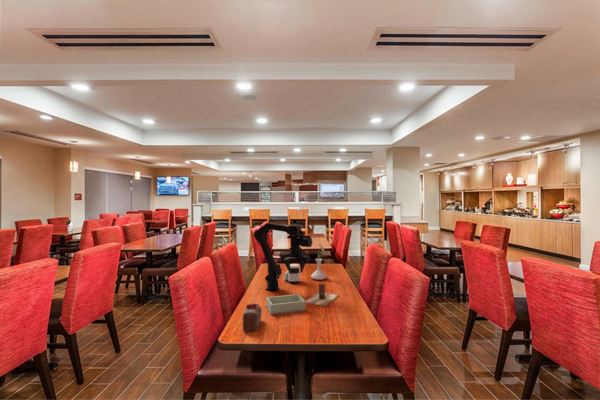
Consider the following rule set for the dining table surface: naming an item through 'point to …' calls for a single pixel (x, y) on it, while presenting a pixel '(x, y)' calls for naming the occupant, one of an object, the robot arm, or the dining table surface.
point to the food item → (251, 317)
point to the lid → (321, 297)
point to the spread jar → (293, 274)
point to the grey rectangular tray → (285, 304)
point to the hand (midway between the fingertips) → (295, 271)
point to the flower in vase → (319, 273)
